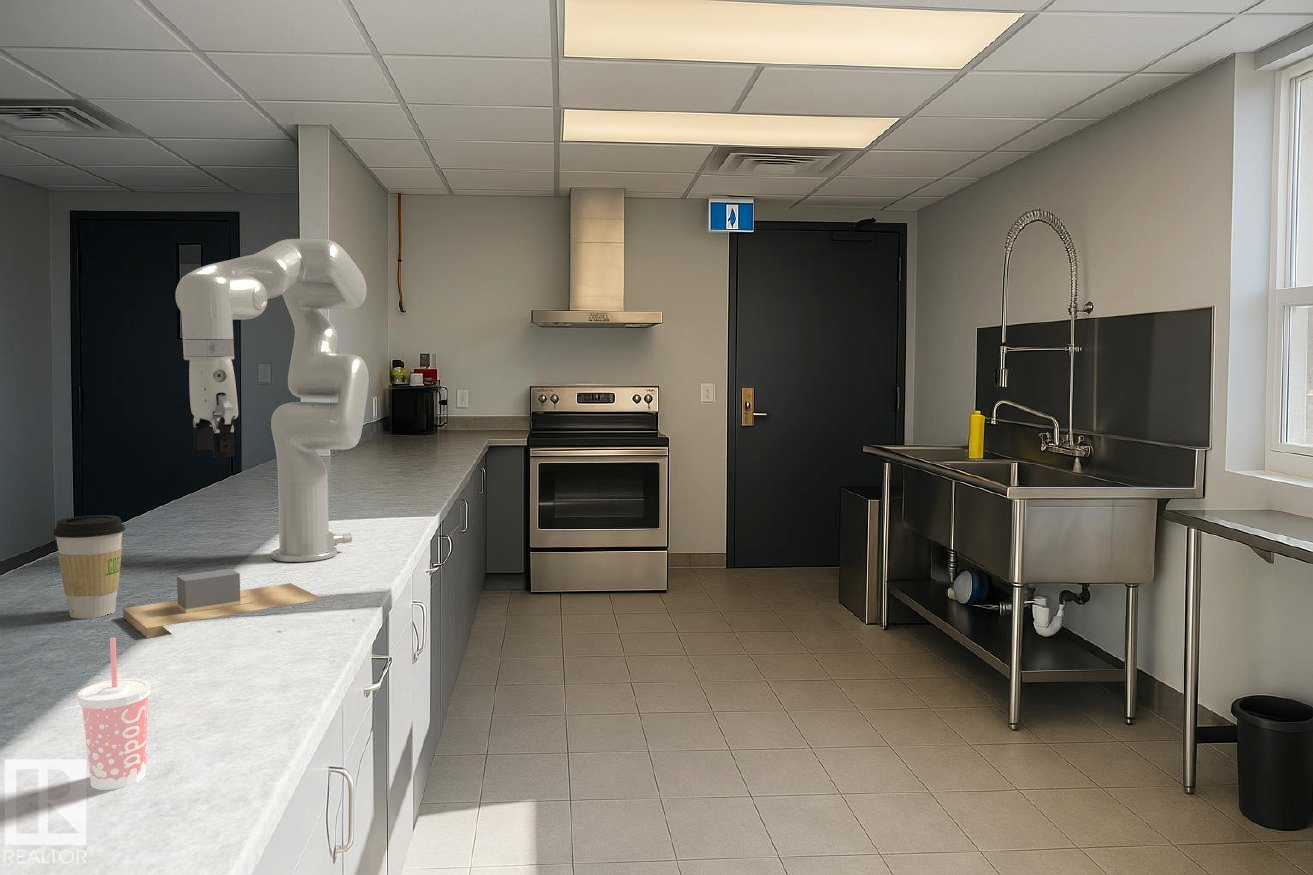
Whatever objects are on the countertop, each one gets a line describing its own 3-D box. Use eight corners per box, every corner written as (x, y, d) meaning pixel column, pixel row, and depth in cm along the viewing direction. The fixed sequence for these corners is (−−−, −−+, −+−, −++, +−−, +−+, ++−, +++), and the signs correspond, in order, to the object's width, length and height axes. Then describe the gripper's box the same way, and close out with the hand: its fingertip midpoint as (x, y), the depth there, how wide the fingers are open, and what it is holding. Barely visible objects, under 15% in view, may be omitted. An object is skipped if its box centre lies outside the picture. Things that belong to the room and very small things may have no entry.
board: (290, 591, 164) (290, 582, 163) (323, 607, 153) (322, 598, 153) (123, 617, 146) (123, 608, 146) (147, 638, 136) (146, 627, 136)
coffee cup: (142, 608, 152) (139, 516, 150) (88, 624, 142) (84, 527, 141) (97, 602, 155) (93, 512, 154) (40, 618, 146) (36, 522, 144)
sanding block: (231, 598, 152) (230, 568, 152) (240, 604, 149) (239, 573, 149) (177, 607, 147) (176, 575, 147) (186, 613, 144) (185, 581, 143)
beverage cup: (94, 799, 87) (88, 652, 85) (72, 779, 91) (66, 638, 90) (164, 778, 91) (159, 637, 90) (140, 759, 95) (135, 625, 94)
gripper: (250, 351, 150) (255, 457, 152) (216, 348, 163) (221, 446, 165) (200, 352, 145) (206, 462, 147) (169, 349, 158) (175, 449, 160)
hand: (214, 453), depth 156 cm, fingers open, 9 cm apart
